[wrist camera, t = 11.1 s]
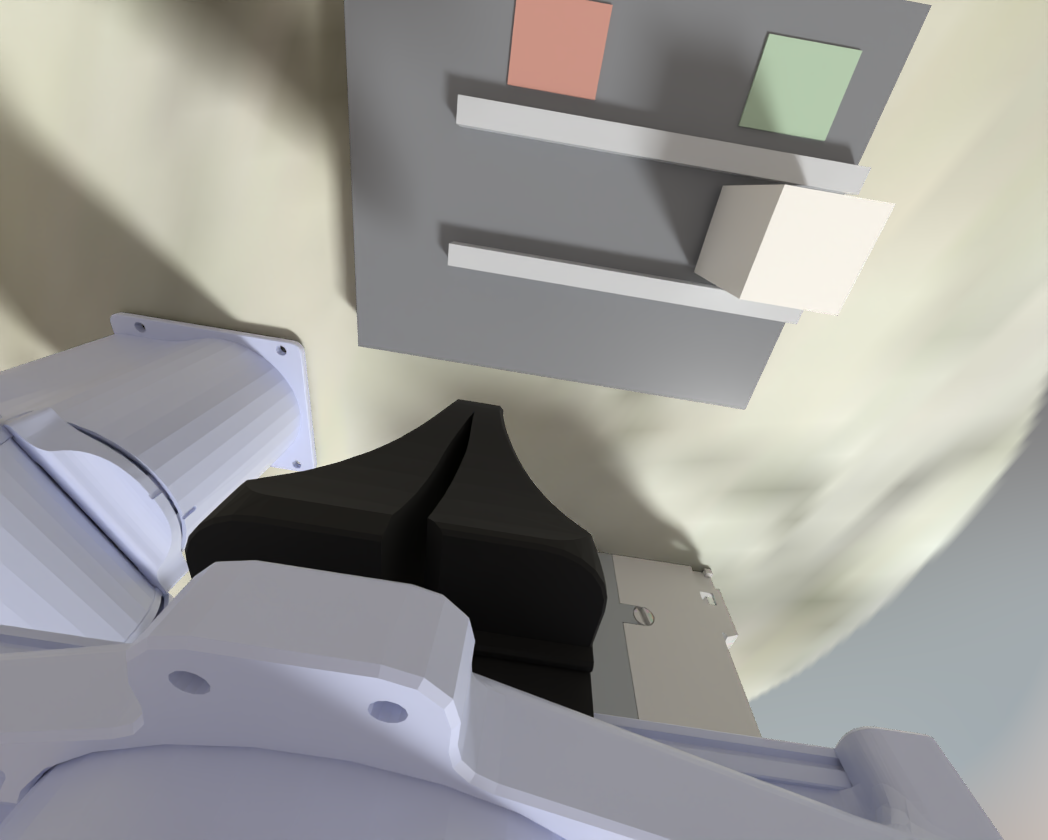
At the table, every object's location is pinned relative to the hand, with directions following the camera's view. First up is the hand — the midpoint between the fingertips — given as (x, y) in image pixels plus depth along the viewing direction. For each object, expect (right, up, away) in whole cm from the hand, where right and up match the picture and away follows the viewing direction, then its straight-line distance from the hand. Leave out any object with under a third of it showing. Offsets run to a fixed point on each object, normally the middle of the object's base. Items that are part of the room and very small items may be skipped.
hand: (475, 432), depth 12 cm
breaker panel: (+4, +9, +5) cm, 11 cm away
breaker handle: (+10, +7, +3) cm, 13 cm away
